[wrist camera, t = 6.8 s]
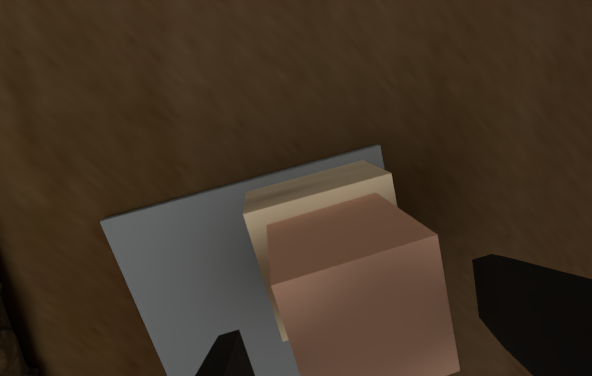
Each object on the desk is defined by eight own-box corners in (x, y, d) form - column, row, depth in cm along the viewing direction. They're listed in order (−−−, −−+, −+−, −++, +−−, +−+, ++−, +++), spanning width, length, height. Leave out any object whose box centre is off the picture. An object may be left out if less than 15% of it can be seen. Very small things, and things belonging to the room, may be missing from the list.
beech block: (384, 265, 17) (414, 302, 14) (277, 296, 17) (282, 341, 14) (362, 159, 16) (391, 172, 13) (246, 192, 16) (242, 214, 12)
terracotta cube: (396, 289, 14) (459, 370, 9) (296, 320, 14) (314, 418, 9) (375, 192, 13) (437, 234, 8) (266, 224, 12) (271, 285, 8)
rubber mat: (414, 349, 20) (418, 355, 19) (191, 418, 19) (189, 426, 18) (376, 144, 16) (380, 145, 16) (104, 218, 16) (99, 221, 15)
